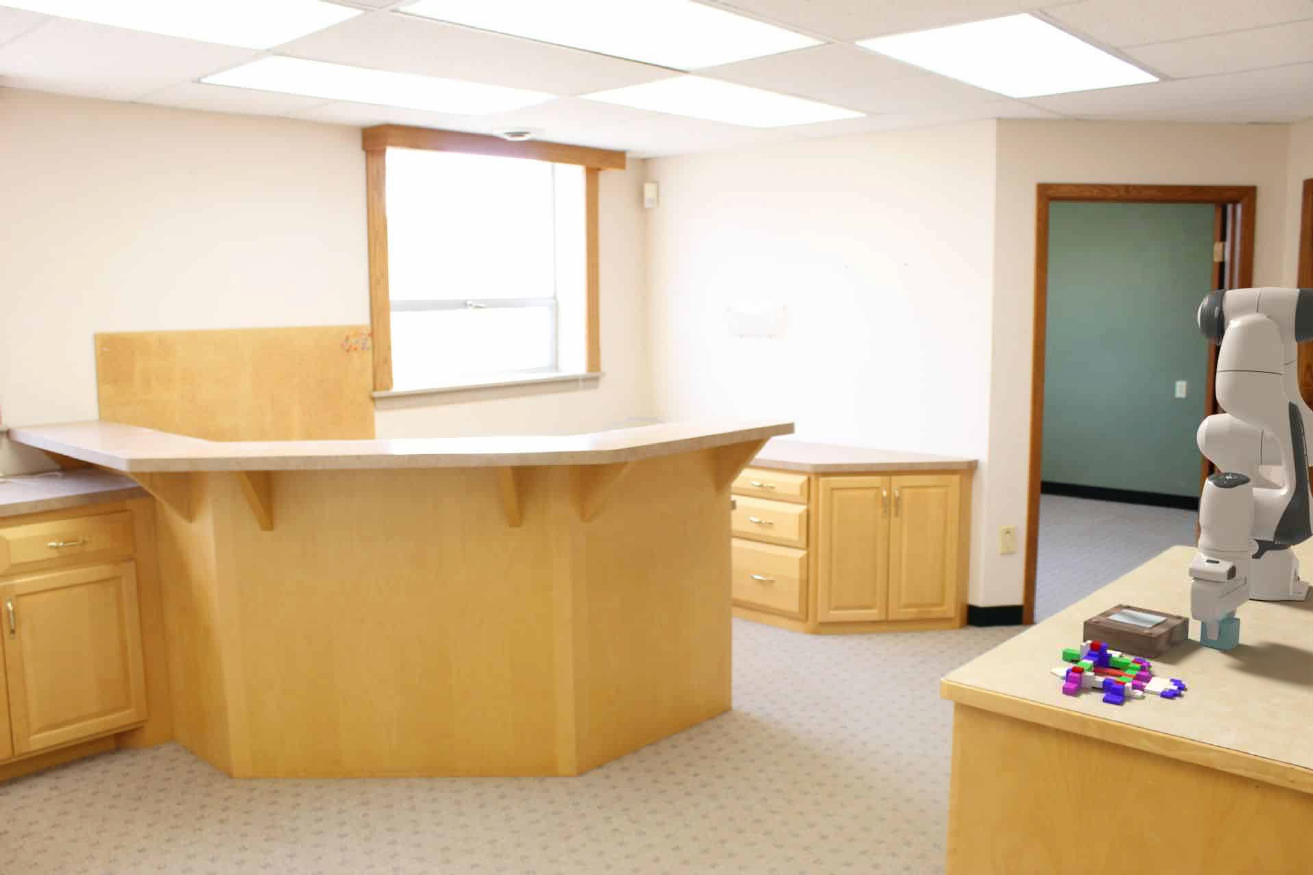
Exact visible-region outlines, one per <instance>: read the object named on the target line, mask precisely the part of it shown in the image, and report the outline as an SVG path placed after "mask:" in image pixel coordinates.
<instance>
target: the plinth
mask: <svg viewBox="0 0 1313 875" xmlns="http://www.w3.org/2000/svg"><path fill="white" fill-rule="evenodd" d="M1082 628H1083V630H1082V632H1083V633H1082V643H1083V642H1084V643H1086V642H1087V641H1088V640H1090V641H1096V642H1101V643H1107V649H1109V650H1110V649H1111V650H1114V651H1115V650H1117V651H1118V652H1124V653H1128V654H1131V655H1137V656H1141V657H1146V658H1150V659H1155V658H1157V657H1159V656H1161V655H1162V654H1164V653H1166V652H1167V651H1169V650H1170V649H1172V648H1174V647H1176V646H1177V645H1179V644H1181V643H1182V642H1184V641H1185V640H1187V639H1188V638H1189V630H1190V617H1188V616H1183V615H1180V614H1174V613H1173V614H1172V613H1169V612H1163V611H1157V610H1153V609H1148V608H1142V607H1138V606H1133V605H1132V606H1131V605H1129V604H1123V603H1119V604H1117V605H1115V606H1113V607H1111V608H1109V609H1106V610H1105V611H1102V612H1100V613H1098V614H1096V615H1094V616H1092V617H1090V618H1088V619H1086V620H1084V621H1083V626H1082ZM1168 649H1169V650H1168Z"/></svg>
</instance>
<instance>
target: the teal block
mask: <svg viewBox="0 0 1313 875" xmlns="http://www.w3.org/2000/svg"><path fill="white" fill-rule="evenodd" d="M1219 629H1221V631H1220V638H1218V639H1217V640H1212V639H1209V638H1208V637H1207V627H1206V624H1205V622H1203V621H1200V639H1199V645H1200V646H1204V647H1208V648H1213V649H1216V650H1217V649H1218V650H1222V651H1227V652H1229V651H1232V650H1233V649H1234V648H1236V647H1237V646H1238V645H1240V643H1239V642H1240V632H1241V631H1240V630H1241V618H1240V617H1236V616H1235V617H1229V616H1222V617H1221V618H1220V622H1219Z"/></svg>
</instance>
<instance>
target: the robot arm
mask: <svg viewBox="0 0 1313 875" xmlns="http://www.w3.org/2000/svg"><path fill="white" fill-rule="evenodd" d="M1197 324H1198V327H1199V329H1200V333H1201V335H1202V336H1203V337H1204V338H1205V339H1206V340H1207V341H1210V342H1214V344H1215V346H1218V347H1219V346H1220V345H1221V346H1220V350H1219V354H1218V359H1217V365H1216V366H1217V367H1216V375H1215V397H1216V401H1217V403H1218V404H1219V406H1220V408H1221V409H1223V410H1224V412H1226V413H1218V414H1217V413H1216V414H1211V415H1208V416H1207V417H1206V418H1205V419H1203V421H1202V422H1201V423H1200V425H1199V427H1198V428H1197V434H1196V443H1197V446H1198V448H1199V451H1200V452H1201V454H1203V456H1204V457H1205V458H1206V459H1208V460H1209V461H1210V462H1211V463H1213V464H1214V465H1215V466H1216V467H1217V468H1218V469H1219V471H1220V472H1218V473H1212V474H1211V475H1208V476H1207V477H1206V479H1205V482H1204V485H1203V489H1202V495H1201V497H1200V498H1199V502H1198V516H1197V520H1198V523H1199V526H1200V535H1199V537H1198V541H1197V551H1196V553H1195V554H1196V555H1195V557H1194V559H1193V561H1191V563H1190V565H1189V566H1188V576H1189V577H1191V578H1192V579H1191V581H1190V590H1189V592H1190V595H1189V598H1190V599H1189V601H1190V602H1189V603H1190V614H1191V617H1192V619H1193V620H1195V621H1198V622H1199V621H1200V622H1201V621H1203V622H1205V624H1206V627H1207V637H1208V638H1209V639H1212V640H1217V639H1218V638H1220V631H1221V629H1219V622H1220V618H1221V617H1222V616H1229V617H1235V618H1236V615H1237V613H1238V612H1237V611H1238V608H1239V607H1241V606H1243V605H1244V604H1246V603H1247V602H1249V600H1252V599H1253V600H1263V601H1305V600H1306V597H1307V594H1308V591H1309V589H1310V586H1311V585H1310V581H1309V580H1306V579H1304V578H1300V576H1299V572H1300V571H1299V569H1300V560H1299V559H1298V557H1297V555H1296V554H1295V553H1294V551H1293V550H1292V548H1291V547H1294V546H1297V545H1300V544H1302V543H1304V542H1306V541H1307V540H1308V539H1310V538H1312V537H1313V492H1312V491H1313V490H1312V484H1311V477H1310V476H1311V474H1310V467H1313V410H1311V408H1310V407H1309V406H1308V405H1307V404H1306V402H1305V401H1304V399H1303V398H1302V395H1301V392H1300V389H1299V379H1298V344H1300V343H1307V342H1312V341H1313V288H1308V287H1300V288H1293V287H1281V286H1262V287H1250V288H1248V287H1247V288H1246V287H1245V288H1236V289H1230V290H1229V289H1228V290H1227V289H1226V288H1223V289H1218V290H1213V291H1209V292H1208V293H1207V294H1206V295H1204V296H1203V298H1202V301H1201V304H1200V306H1199V308H1198V311H1197ZM1261 466H1271V467H1282V473H1283V474H1282V475H1283V484H1284V486H1281V485H1280V484H1278V483H1276V482H1274V481H1272V480H1270V479H1268V478H1266V477H1265V476H1263V474H1262V473H1261V470H1260V468H1259V467H1261Z"/></svg>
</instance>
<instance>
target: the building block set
mask: <svg viewBox="0 0 1313 875" xmlns="http://www.w3.org/2000/svg"><path fill="white" fill-rule="evenodd" d="M1122 652H1123V651H1118V650H1117V651H1115V650H1112V649H1111V650H1110V649H1108V648H1107V643H1101V642H1096V641H1090V640H1088V641H1087V642H1086V643H1084V642H1083V641H1082V642H1081V644H1080V645H1079V650H1078V649H1072V648H1064V649H1063V650H1062V654H1061V655H1062V656H1061V657H1062V658H1061V660H1062V661H1066V662H1071V661H1073V660H1074V661H1075V660H1076V661H1078V663H1076V665H1073V666H1072V667H1053V668H1052V669H1051V670H1050V674H1051V675H1052V676H1054V677H1056V678H1058V679H1059V680H1064V679H1065V683H1064V684H1063V686H1062V690H1061V691H1062V692H1061V693H1062V694H1065V695H1070V696H1074V695H1075V694H1076V693H1077V692H1078V691H1079V690H1080V689H1081V688H1086V689H1093V687H1095V688H1099V689H1102V692H1106V693H1105V695H1104V696H1103V697H1102V698H1101V699H1102V700H1101V701H1102V703H1107V704H1111V705H1117V706H1120V705H1121V704H1122V703H1123V702H1124V701H1125V699H1126V696H1127V697H1130V698H1133V699H1141V698H1143V696H1144V693H1148V694H1152V695H1156V696H1157V695H1158V696H1159V698H1165V699H1168V700H1172V699H1173V697H1177V698H1179V697H1180V696H1182V691H1184V690H1185V689H1186V684H1185V683H1183V680H1181V679H1176V678H1170V679H1167V678H1162V677H1158V676H1157V677H1156V676H1150V672H1149V666H1150V665H1151V662H1150V661H1146V659H1145V658H1141V657H1140V658H1139V657H1135V658H1134V659H1133V660H1132V659H1129V658H1125V657H1121V656H1122V654H1123V653H1122ZM1111 667H1114V668H1119V669H1113V668H1111ZM1095 674H1097V675H1095ZM1098 674H1100V675H1102V676H1100V675H1098ZM1103 675H1105V676H1103ZM1106 676H1107V677H1106ZM1108 676H1109V677H1108ZM1110 676H1111V677H1110ZM1113 677H1115V678H1113ZM1116 678H1117V679H1116ZM1143 682H1144V683H1148V684H1147V685H1145V684H1143Z"/></svg>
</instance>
